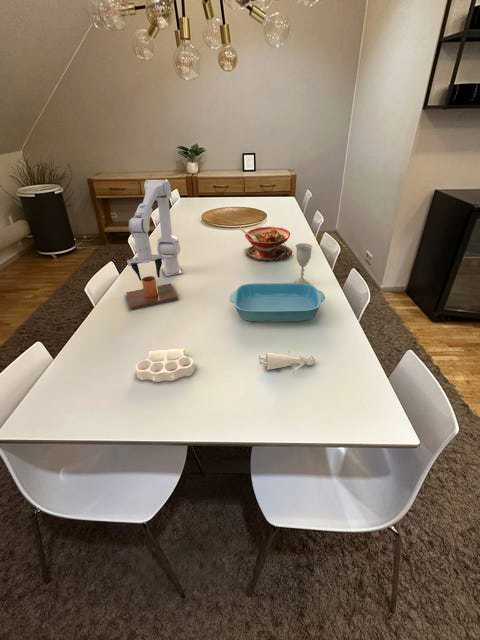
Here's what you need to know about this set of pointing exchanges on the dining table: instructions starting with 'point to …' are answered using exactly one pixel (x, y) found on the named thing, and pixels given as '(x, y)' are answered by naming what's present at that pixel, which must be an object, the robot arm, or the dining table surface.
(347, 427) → the dining table surface
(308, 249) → the chalice
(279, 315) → the casserole dish
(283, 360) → the woman figurine
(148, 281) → the tumbler
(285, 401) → the dining table surface
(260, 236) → the stew
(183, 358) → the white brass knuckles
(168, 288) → the serving board
